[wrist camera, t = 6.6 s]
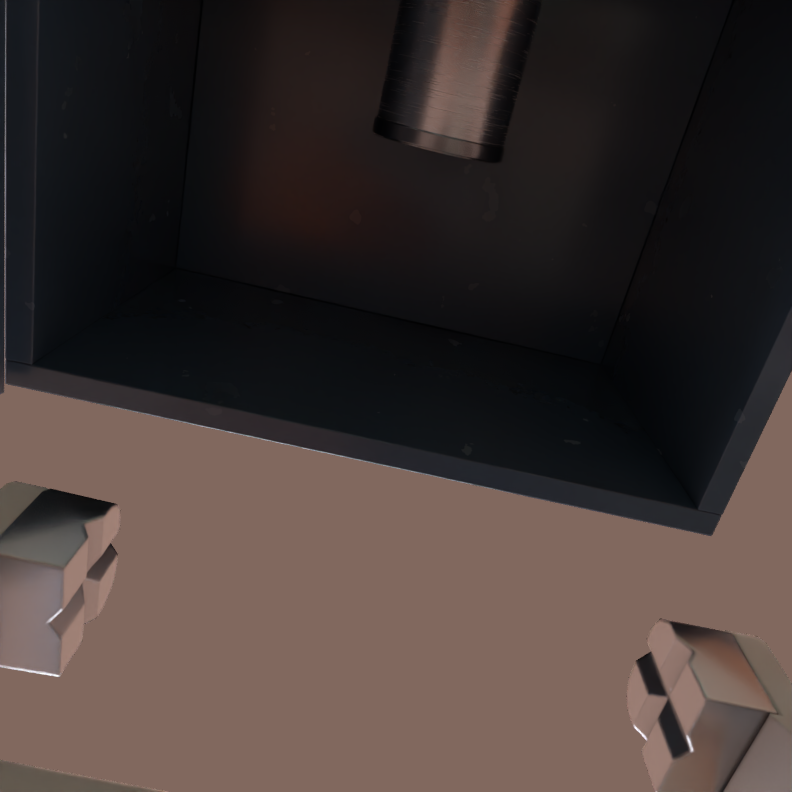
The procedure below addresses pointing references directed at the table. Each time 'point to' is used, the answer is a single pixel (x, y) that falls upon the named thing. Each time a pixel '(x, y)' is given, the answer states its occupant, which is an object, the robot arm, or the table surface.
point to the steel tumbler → (456, 75)
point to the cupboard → (412, 241)
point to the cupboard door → (2, 186)
